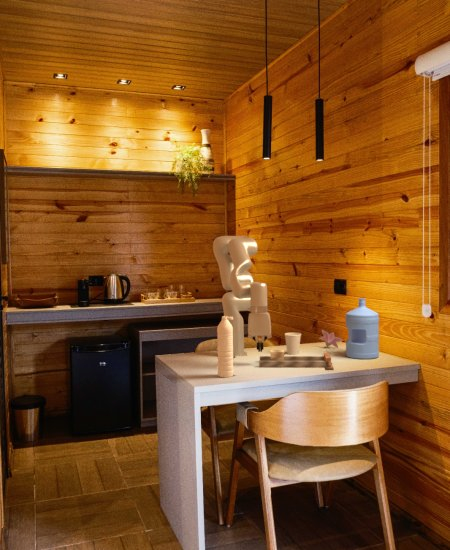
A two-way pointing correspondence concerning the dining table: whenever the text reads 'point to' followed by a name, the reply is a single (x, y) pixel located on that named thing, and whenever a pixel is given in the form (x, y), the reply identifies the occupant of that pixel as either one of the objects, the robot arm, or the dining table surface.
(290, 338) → the dixie cup
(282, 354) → the birch block
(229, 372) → the water bottle
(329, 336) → the lily
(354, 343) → the water jug
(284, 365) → the track
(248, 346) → the dining table surface
